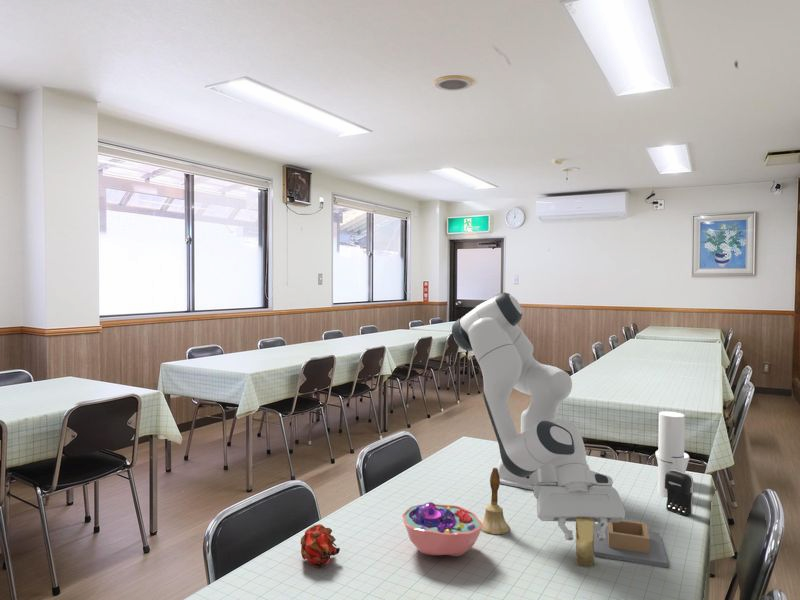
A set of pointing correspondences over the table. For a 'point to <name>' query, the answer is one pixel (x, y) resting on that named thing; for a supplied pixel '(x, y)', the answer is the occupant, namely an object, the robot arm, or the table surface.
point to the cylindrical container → (670, 446)
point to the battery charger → (679, 492)
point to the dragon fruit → (318, 545)
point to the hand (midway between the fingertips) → (585, 539)
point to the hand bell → (494, 510)
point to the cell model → (441, 528)
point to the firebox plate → (630, 543)
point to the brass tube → (585, 541)
